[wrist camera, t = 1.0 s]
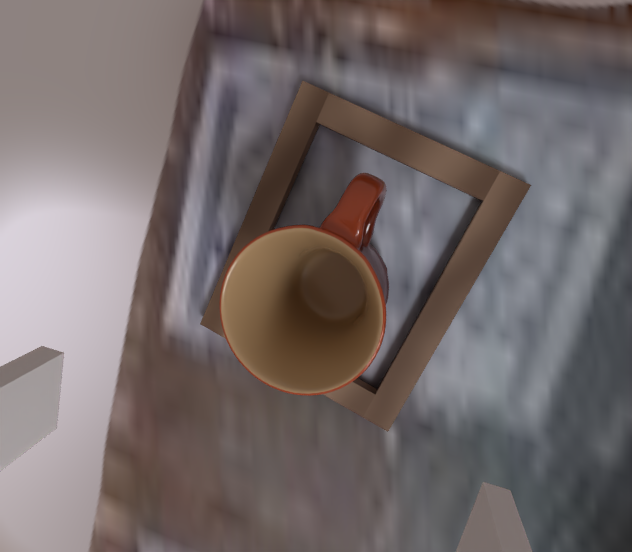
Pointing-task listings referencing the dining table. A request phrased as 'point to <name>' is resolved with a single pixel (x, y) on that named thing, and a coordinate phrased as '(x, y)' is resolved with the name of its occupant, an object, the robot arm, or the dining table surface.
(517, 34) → the dining table surface
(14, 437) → the robot arm
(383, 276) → the mug
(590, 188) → the dining table surface
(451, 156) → the frame
